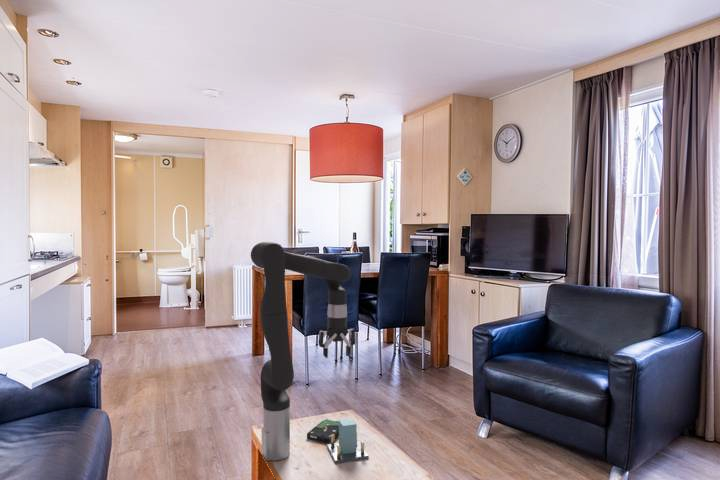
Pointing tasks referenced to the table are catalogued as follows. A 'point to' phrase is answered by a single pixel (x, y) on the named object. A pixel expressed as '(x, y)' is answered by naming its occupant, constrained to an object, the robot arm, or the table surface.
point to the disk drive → (324, 431)
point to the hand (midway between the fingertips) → (336, 356)
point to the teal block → (347, 435)
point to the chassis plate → (339, 457)
